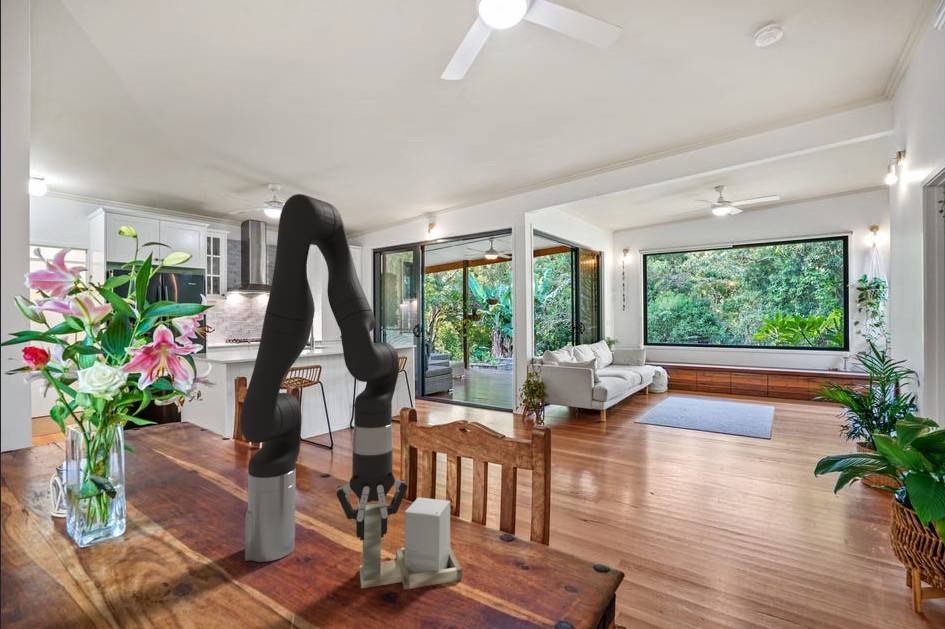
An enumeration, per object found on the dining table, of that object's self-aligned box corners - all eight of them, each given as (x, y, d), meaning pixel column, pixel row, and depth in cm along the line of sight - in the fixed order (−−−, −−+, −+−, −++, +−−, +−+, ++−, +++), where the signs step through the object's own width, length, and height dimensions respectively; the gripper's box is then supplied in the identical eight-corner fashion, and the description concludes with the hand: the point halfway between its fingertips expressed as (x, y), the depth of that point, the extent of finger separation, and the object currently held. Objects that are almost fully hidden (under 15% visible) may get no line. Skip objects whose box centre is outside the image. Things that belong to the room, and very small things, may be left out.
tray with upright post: (362, 596, 79) (362, 524, 79) (358, 563, 90) (359, 499, 90) (461, 579, 85) (462, 511, 85) (447, 550, 95) (448, 489, 95)
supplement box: (451, 562, 91) (451, 500, 91) (438, 583, 84) (439, 516, 84) (417, 556, 93) (418, 495, 93) (402, 576, 86) (403, 511, 86)
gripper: (334, 456, 79) (333, 552, 79) (412, 450, 83) (411, 541, 83) (334, 444, 86) (333, 532, 86) (406, 439, 91) (405, 523, 91)
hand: (371, 536), depth 85 cm, fingers closed on tray with upright post, 3 cm apart
